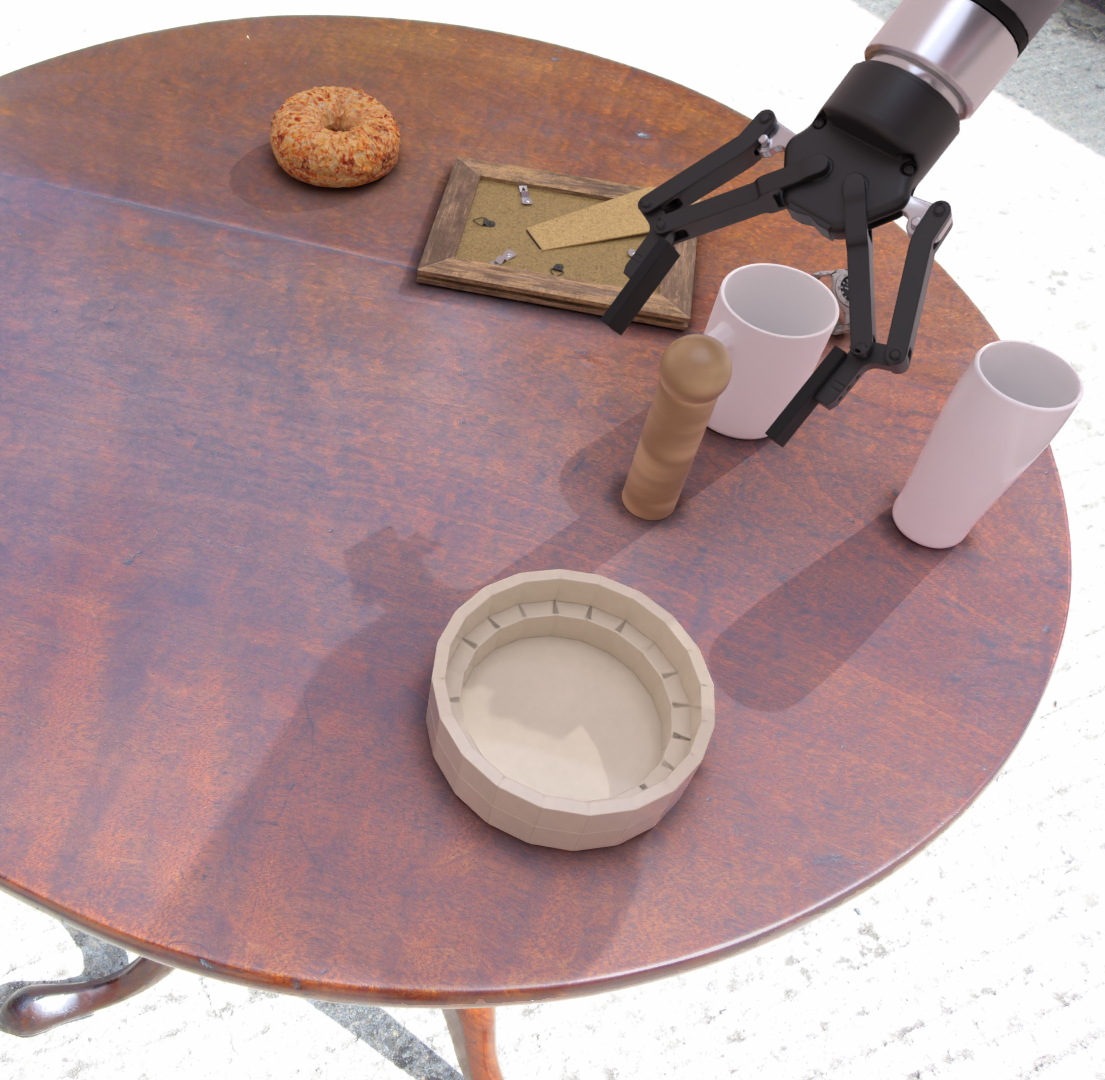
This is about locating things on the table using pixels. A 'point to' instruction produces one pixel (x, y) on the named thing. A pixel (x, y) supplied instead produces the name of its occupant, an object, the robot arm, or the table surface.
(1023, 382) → the drinking glass
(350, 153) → the bagel
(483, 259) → the picture frame
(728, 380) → the pestle
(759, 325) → the mug
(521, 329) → the table surface
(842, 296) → the wristwatch
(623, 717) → the bowl
